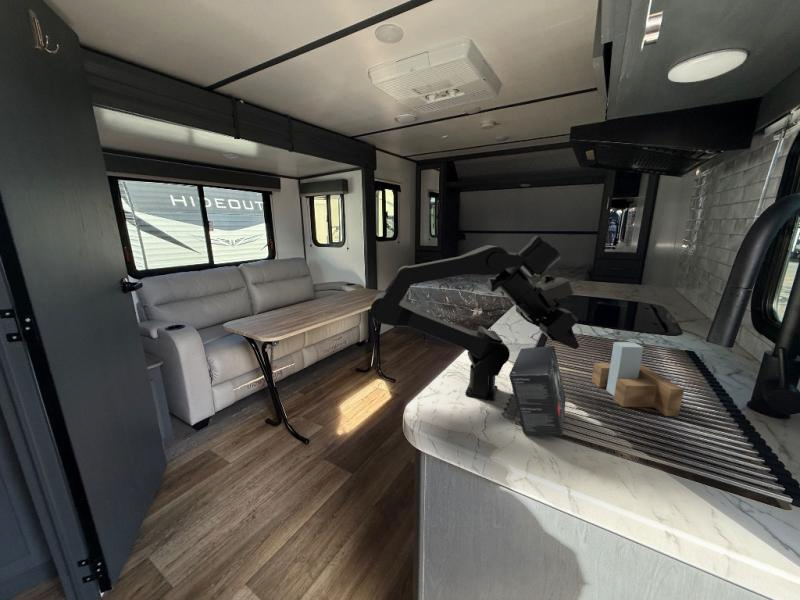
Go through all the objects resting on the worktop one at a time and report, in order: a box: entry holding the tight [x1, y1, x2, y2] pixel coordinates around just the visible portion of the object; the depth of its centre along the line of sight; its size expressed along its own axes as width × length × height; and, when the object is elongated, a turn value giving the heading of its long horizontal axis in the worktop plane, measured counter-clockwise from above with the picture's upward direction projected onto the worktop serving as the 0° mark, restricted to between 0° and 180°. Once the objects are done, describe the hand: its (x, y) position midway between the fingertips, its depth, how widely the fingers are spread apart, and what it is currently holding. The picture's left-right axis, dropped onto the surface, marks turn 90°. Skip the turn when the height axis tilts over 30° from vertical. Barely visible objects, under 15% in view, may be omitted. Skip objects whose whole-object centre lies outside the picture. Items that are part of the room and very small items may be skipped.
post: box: [606, 341, 645, 397], centre depth 71 cm, size 4×3×12 cm, turn 88°
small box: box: [508, 345, 567, 437], centre depth 60 cm, size 13×7×12 cm, turn 151°
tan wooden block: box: [591, 362, 685, 417], centre depth 72 cm, size 9×18×6 cm, turn 179°
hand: (566, 340), depth 70 cm, fingers open, 9 cm apart
